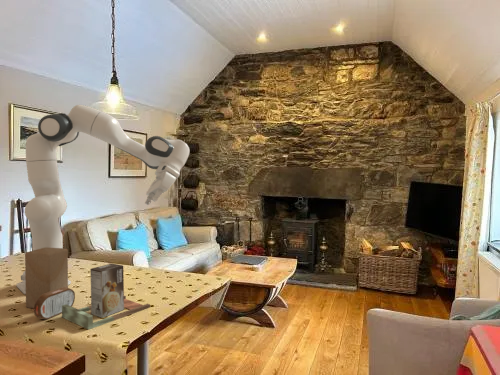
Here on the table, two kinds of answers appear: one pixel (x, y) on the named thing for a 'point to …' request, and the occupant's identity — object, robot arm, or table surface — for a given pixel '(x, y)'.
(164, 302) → the table surface
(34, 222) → the robot arm
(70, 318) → the brown low open piece
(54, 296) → the tin
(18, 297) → the table surface
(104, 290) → the coffee box
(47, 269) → the wooden block
